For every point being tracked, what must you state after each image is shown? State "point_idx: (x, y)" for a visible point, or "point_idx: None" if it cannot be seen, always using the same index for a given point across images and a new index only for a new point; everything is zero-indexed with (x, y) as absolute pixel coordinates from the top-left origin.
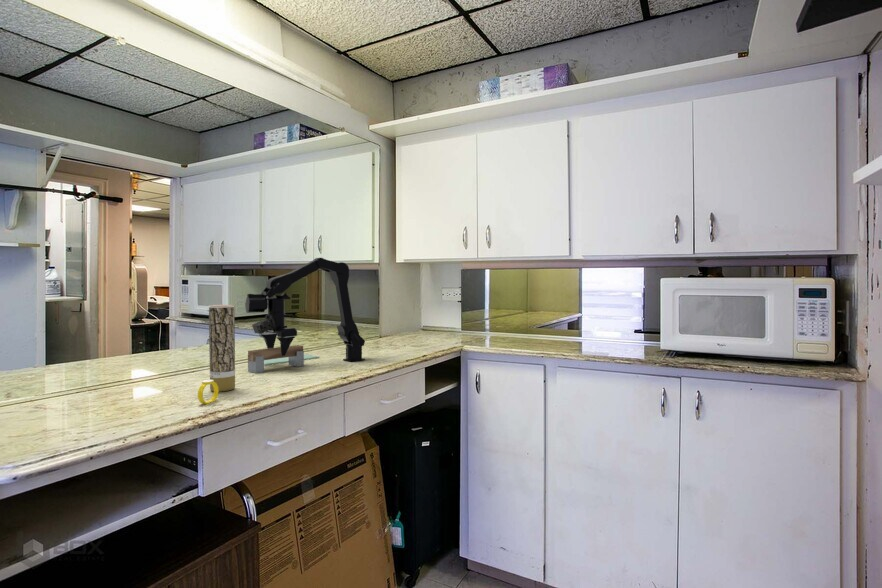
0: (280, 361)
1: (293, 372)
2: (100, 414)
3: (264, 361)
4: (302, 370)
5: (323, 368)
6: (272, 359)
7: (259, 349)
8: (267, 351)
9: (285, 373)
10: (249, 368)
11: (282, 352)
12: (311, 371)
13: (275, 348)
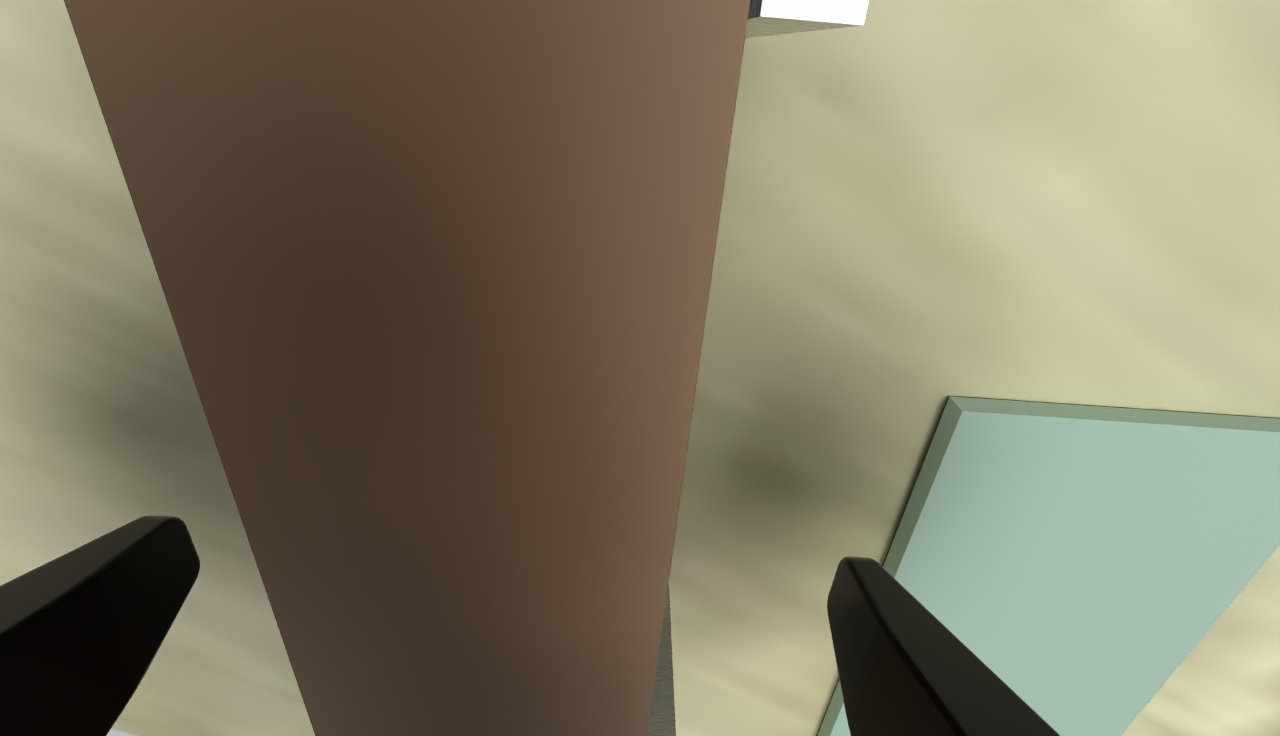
0: None
1: (47, 341)
2: None
3: (1158, 525)
4: (154, 493)
5: (153, 671)
6: (1147, 649)
7: (702, 143)
8: (213, 275)
9: (11, 210)
10: None
11: (26, 575)
12: (6, 517)
13: (433, 680)
